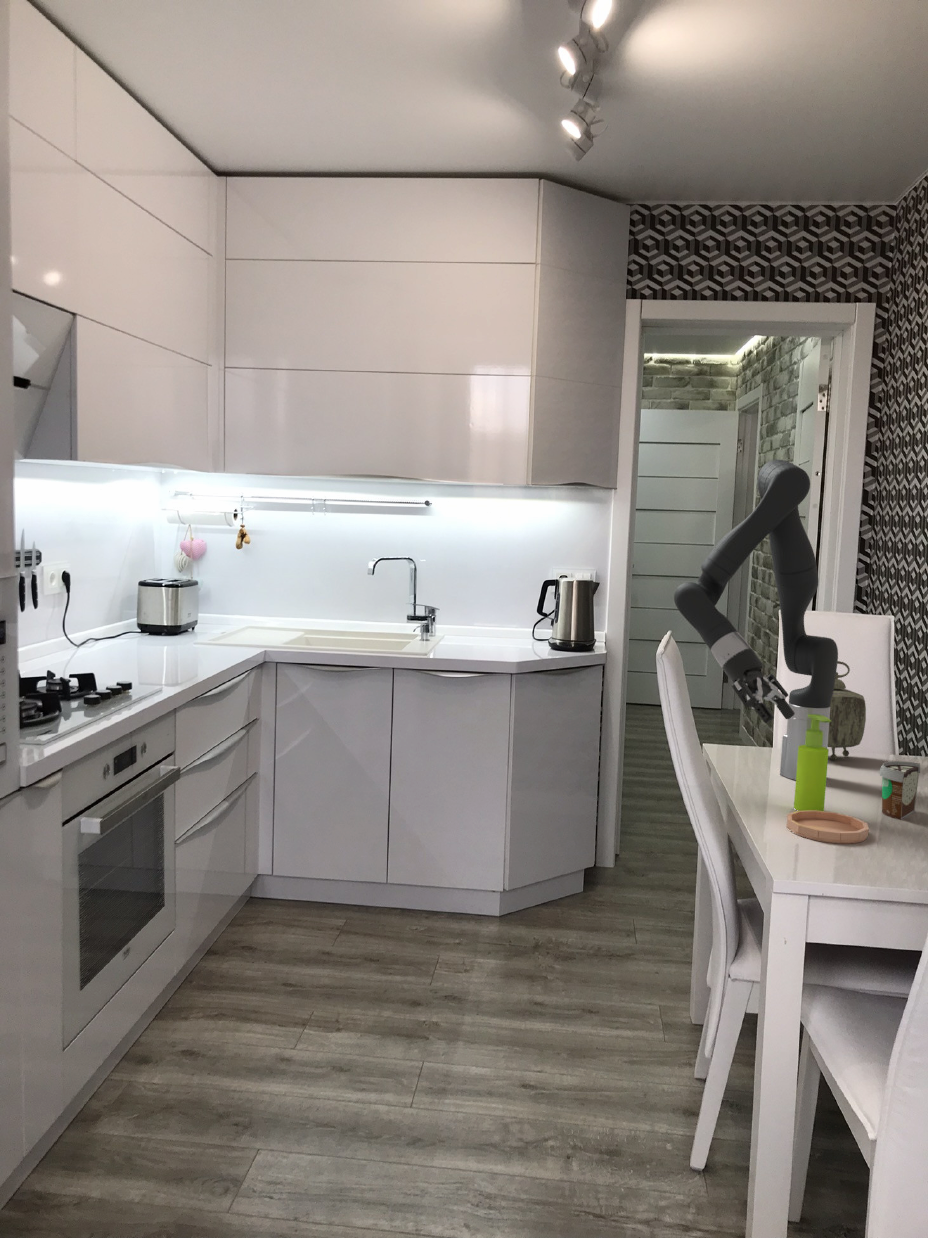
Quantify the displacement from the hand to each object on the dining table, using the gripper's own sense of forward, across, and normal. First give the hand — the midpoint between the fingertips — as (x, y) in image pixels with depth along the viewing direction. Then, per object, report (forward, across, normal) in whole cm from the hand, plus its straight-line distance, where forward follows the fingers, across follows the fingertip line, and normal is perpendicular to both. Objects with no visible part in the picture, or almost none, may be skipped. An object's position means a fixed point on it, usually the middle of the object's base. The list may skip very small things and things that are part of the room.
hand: (780, 718), depth 215 cm
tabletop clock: (+3, +51, +22) cm, 56 cm away
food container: (+26, +14, -1) cm, 30 cm away
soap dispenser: (+18, 0, +7) cm, 20 cm away
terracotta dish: (+25, -11, +1) cm, 27 cm away
